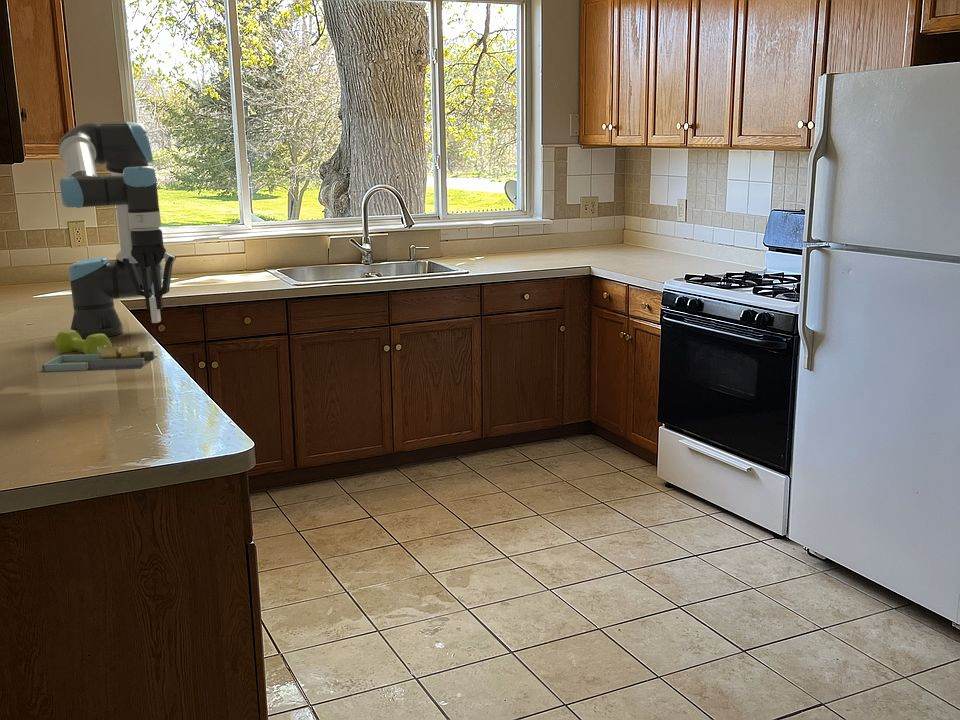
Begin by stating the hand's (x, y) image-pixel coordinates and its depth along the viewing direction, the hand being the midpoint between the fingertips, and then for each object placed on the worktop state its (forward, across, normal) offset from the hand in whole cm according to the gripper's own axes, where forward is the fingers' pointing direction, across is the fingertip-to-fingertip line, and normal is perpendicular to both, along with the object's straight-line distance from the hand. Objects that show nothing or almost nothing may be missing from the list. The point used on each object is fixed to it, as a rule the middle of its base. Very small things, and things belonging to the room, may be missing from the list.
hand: (156, 321), depth 237 cm
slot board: (+12, -10, 0) cm, 16 cm away
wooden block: (+11, -13, 0) cm, 16 cm away
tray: (+12, -23, 0) cm, 26 cm away
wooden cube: (+11, -8, 0) cm, 13 cm away
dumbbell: (+12, -26, +16) cm, 33 cm away
